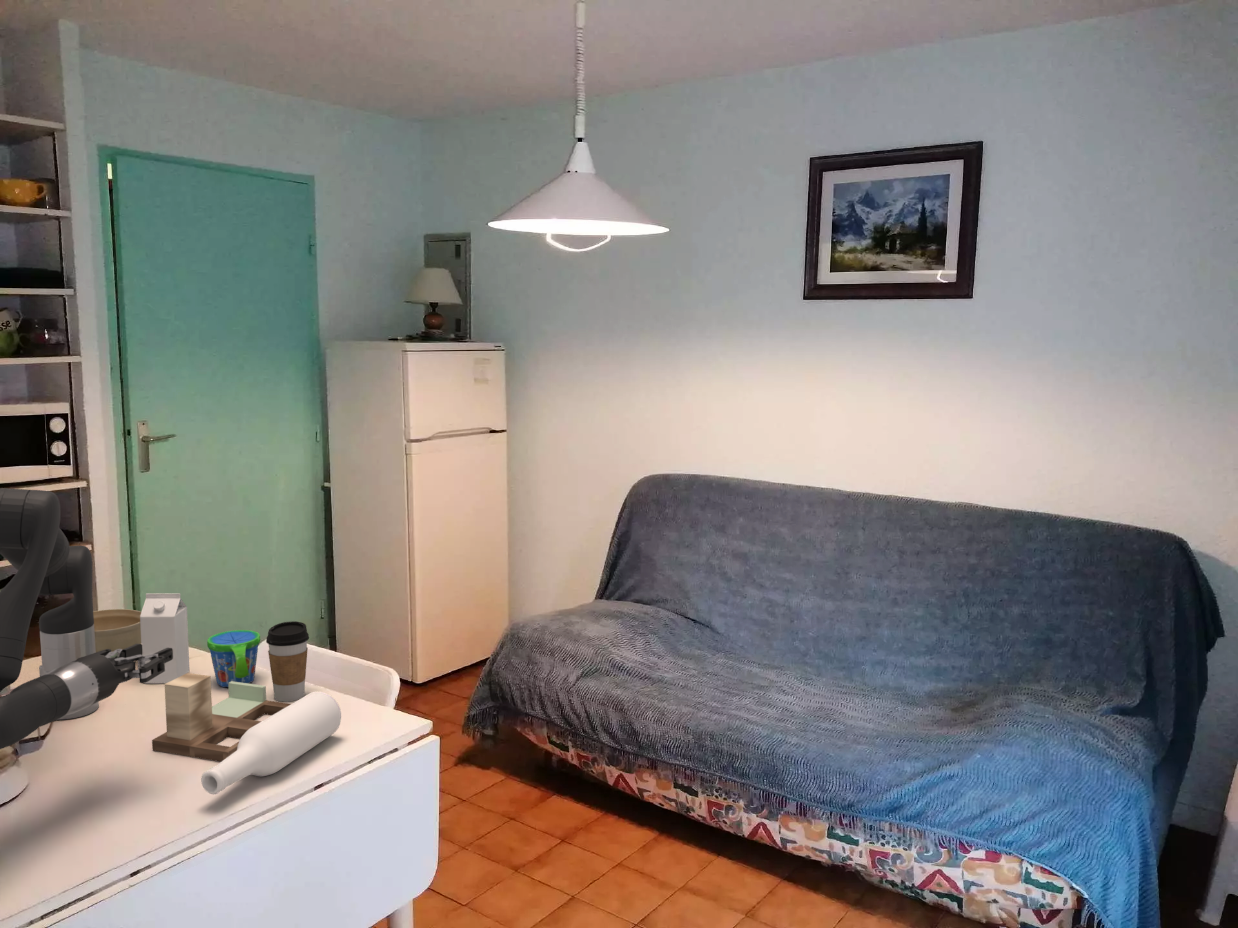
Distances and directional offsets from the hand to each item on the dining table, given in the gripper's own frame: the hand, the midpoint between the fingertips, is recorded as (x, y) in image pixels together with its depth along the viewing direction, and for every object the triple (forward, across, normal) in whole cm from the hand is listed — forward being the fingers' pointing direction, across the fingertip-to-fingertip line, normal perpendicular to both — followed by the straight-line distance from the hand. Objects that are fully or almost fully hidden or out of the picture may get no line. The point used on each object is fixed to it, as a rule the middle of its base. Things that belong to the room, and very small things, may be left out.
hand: (155, 651), depth 163 cm
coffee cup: (+32, -4, +20) cm, 38 cm away
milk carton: (+32, +27, +20) cm, 47 cm away
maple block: (+8, 0, +18) cm, 20 cm away
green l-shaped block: (+20, 0, +20) cm, 28 cm away
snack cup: (+35, +11, +20) cm, 42 cm away
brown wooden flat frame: (+14, -4, +20) cm, 24 cm away
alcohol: (+18, -21, +16) cm, 32 cm away
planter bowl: (+34, +44, +20) cm, 59 cm away
